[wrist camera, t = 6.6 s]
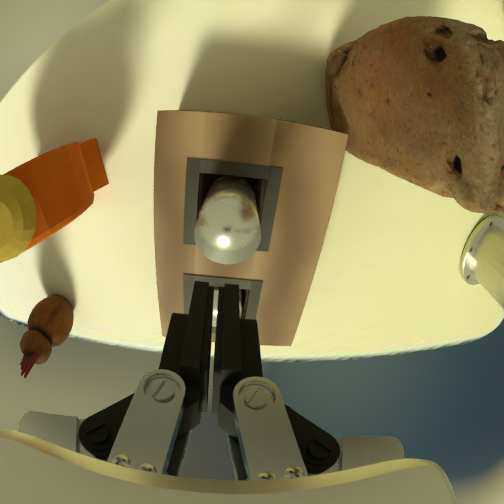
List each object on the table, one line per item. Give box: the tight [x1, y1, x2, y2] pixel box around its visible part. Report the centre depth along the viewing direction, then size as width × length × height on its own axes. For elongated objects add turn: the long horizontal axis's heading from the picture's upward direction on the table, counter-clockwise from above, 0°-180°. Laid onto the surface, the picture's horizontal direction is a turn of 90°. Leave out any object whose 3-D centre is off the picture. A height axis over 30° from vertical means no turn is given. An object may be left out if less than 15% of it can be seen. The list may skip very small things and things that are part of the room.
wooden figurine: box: [20, 295, 73, 378], centre depth 27 cm, size 7×6×15 cm
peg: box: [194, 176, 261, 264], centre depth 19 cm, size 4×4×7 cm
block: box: [326, 16, 504, 213], centre depth 14 cm, size 11×8×20 cm
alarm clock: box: [0, 138, 109, 263], centre depth 16 cm, size 13×6×20 cm, turn 100°
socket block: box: [154, 110, 348, 346], centre depth 26 cm, size 14×22×7 cm, turn 172°
